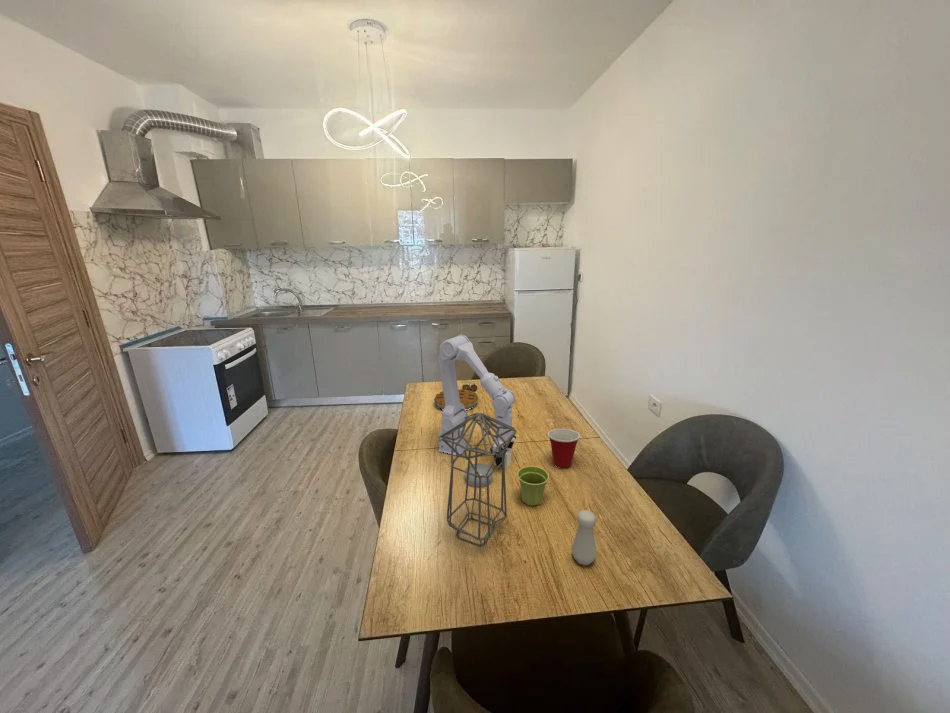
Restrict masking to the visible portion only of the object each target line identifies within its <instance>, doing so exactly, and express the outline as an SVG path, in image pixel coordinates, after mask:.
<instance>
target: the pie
mask: <svg viewBox="0 0 950 713" xmlns="http://www.w3.org/2000/svg"><path fill="white" fill-rule="evenodd" d="M458 391H459V398H460V403H461V404H463V405H464V406H465V409H469V408H472V407H473V406H474V405H476V404H477V403H478V401H479V396H478V394H477V392H474V391H473V390H467V389H463V388H461V389H458ZM433 401H434V403H435V404H436V406H437V408H438V407H439V408H441V409H444V408H445V399H444V393H443V390H442V391H440V392H439V393H436V394H435V396H434V398H433ZM474 407H475V406H474ZM474 407H473V408H474ZM439 408H438V409H439ZM473 408H472V409H473ZM441 409H440V410H441Z"/></svg>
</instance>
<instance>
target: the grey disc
mask: <svg viewBox="0 0 950 713" xmlns="http://www.w3.org/2000/svg"><path fill="white" fill-rule="evenodd" d="M472 464H473V465H474V467H475V463H472ZM490 466H491V465H488V464H486V463H480V462H479V463H478V462H477V471H478V473H479V474H480V475H486V474H487V472H488V470H489V468H490ZM467 469H468V466H467V467H466V469H465V470H464V471H467ZM493 470H494V469H493V468H492V467H491V469H490V471H489V472H488V474H487V476H488V475H489V474H490V473H491V472H492V471H493ZM464 473H465V472H464ZM469 473H472V474H475V470H474V469H473V467H472V466H471V464H470V468H469ZM493 474H494V473H493ZM493 474H492V475H491V476H490V477H489V486H490V485H491V484H492V483H493V481H494V476H493ZM477 476H478V475H477ZM474 481H475V476H473V475H470V474H469V480H468V487H472V488H474ZM466 482H467V473H465V483H466ZM482 488H487V478H481V489H482ZM476 489H479V478H478V477H477V478H476Z"/></svg>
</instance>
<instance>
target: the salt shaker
mask: <svg viewBox="0 0 950 713" xmlns="http://www.w3.org/2000/svg"><path fill="white" fill-rule="evenodd" d="M576 521H577V524H578V526H577V527H578V528H577V529H576V532H575V533H576V534H575V537H574V540H573V544H572V546H571V552H572V553H571V554H572V555H573V558H574V559H575V561H576V562H577V564H578V565H581V566H585V567H586V566H589V565H591V564H592V563H593V562H594V560H595V559H596V557H597V546H596V541H595V539H596V538H595V533H594V532H595V531H594V527H595V526H596V524H597V517H596V515H595V514H594V513H593V512H592V511H590V510H587V509H586V510H585V509H584V510H580V511H579V512H578V513H577V517H576Z"/></svg>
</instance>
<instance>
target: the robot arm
mask: <svg viewBox="0 0 950 713" xmlns="http://www.w3.org/2000/svg"><path fill="white" fill-rule="evenodd" d="M456 360H457V361H462V362H466V363H467V365H468V366H469V367H470V368H471V369H472V371H473V372H475V374H476V375H477V376H478V378H479V379H480V385H481V387H482V388H483V389H484V391H485V392H486V393H487V394H488V396H489V397H490V398H491V400H492V402H491V405H492V407H493V409H494V414H495V415H494V416H495V417H494V419H496V420H498V421H500V422H502V423H505V424H507V425H509V426H511V427H513V405H514V404H515V401H516V397H515V394H514V392H513V391H512V390H510V389H507V388H506V387H504V385H503V384H502V383H501V381H500V380H499V377H498V375H495V373H492V372H489V371H488V370H487V367H486V366H485V364H484V363H483V362H482V360H481V359H480V357H479V355H478V354H477V352H476V351H475V348H474V346H473V342H471V341H470V339H469V338H468V336H466V335H465V334H458V335H457V336H454V337H451V338H449V339H446V340H444V341H443V342H442V343H441V344H439V355H438V358H437V361H438V367H439V372H440V379H441V385H442V391H443V393H444V399H445V408H444V410H442V412H441V420H440V422H441V423H440V424H441V428H440V429H439V433H438V437H439V436H440V435H442V434H444V433H445V432H447V431H449V430H451V429H452V428H454V427H456V426H457V425H459V424H461V423H462V422H463V421H464V420H465V417H467V416H469V415H468V412H467V411H466V410H465V406H464V405H463V404H461V403H460V398H459V391H458V390H459V385H458V381H457V380H458V379H457V373H456V366H455V362H456ZM494 424H495V425H496V426H498V427H499V426H501V425H499V424H497V423H495V422H494ZM462 429H463V427H461V428H460V434H459V436H460V435H461V432H462ZM494 429H495V430H496V431H497V430H498V429H497V428H495V427H494ZM465 430H466V429H464V431H465ZM508 430H510V429H504V428H499V432H498V433H499V434H502V433H504V432H506V431H508ZM513 432H514V431H510V432H508V433H506V434H504V435H502V438H503V439H504V440H505V441H506V440H507V439H508V438H509V436H510V435H511V434H512V433H513ZM463 433H464V432H463ZM494 433H495V432H494ZM494 435H495V436H496V435H497V434H496V433H495V434H494ZM447 437H451V438H452V434H450V435H449V436H447ZM456 437H458V429H457V430H456V431H454V432H453V438H456ZM464 438H465V440H466V434H465V435H464ZM494 438H495V437H494ZM441 439H442V438H441V437H440V440H441ZM445 439H446V438H445ZM459 439H460V438H459ZM459 439H457V440H454V441H455V442H458V440H459ZM497 439H498V442H499V445H500V444H502V443H503V441H502V440H501V439H500V438H499V437H498V438H497ZM497 439H496V438H495V440H496V441H497ZM516 439H517V436H516V435H515V436H514V437H513V439H512V440H511V442H510V444H509V445H508V447H507V448H511V449H512V450H513V446H514V444H515V441H516ZM448 440H450V439H448ZM465 440H464V439H463V438H462V440H461V441H460V443H459V444H461V445H463V446H465V447H466V445H467V444H466V441H465ZM451 441H452V440H451ZM498 442H497V443H498ZM448 443H449V444H450V445H451V446H452V443H450V442H448ZM493 443H494V444H493V445H492V447H493V450H495V449H496V447H497V446H496V444H495V442H494V441H493ZM507 443H508V442H507ZM507 443H506V444H507ZM438 446H439V447H438V448H439V449H438V452H439V453H443V452H444V453H443V454H447V453H448V455H451V450H452V449H451V448H450V447H449V446H448V445H447V444H446V443H445V442H443V441H442V440H441V441H440V442H439V441H438ZM455 446H456V444H454V449H455ZM456 447H457V452H458V453H459V454H461V453H462V452H463V451H464V450H465V449H464V448H462V447H460V446H456ZM502 447H505V444H504V445H503V446H501V447H500V448H501V451H502V450H503V448H502ZM468 448H470V446H468ZM489 450H490V451H489V452H492V453H493V451H492V448H491V447H489ZM501 451H500V453H501ZM506 452H507V450H506V451H505V454H506ZM496 453H497V454H499V452H498V450H497V451H496ZM453 456H456V453H455V452H454V451H453ZM492 456H493V458H494V459H495V457H496V455H492ZM501 456H502V455H501ZM494 459H493V460H494ZM495 462H496V466H495V467H497V466H498V465H499V464H500V463H501V462H502V457H500V458H499V457H498V456H497V458H496V460H495ZM495 462H494V463H495ZM499 468H502V465H501V466H500V467H499Z"/></svg>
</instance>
